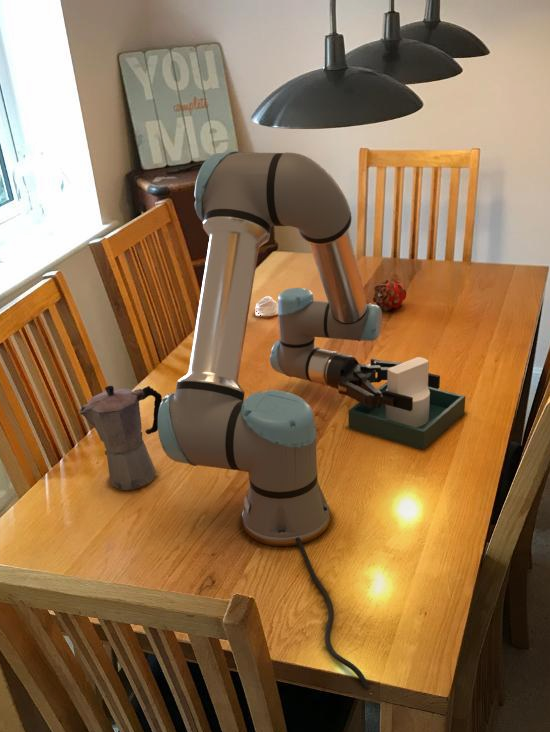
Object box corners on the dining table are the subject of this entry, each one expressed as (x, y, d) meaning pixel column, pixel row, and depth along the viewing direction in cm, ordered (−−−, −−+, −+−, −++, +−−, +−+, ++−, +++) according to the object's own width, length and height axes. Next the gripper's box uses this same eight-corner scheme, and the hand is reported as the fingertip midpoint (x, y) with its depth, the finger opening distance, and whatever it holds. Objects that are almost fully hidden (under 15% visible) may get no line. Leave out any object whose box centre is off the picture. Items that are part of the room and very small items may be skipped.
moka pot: (89, 478, 164) (68, 385, 152) (163, 456, 169) (148, 364, 158) (103, 501, 156) (82, 405, 145) (180, 477, 162) (165, 383, 150)
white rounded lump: (275, 322, 226) (275, 306, 222) (251, 320, 227) (250, 303, 223) (281, 309, 232) (281, 293, 228) (258, 307, 233) (258, 290, 229)
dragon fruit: (380, 322, 223) (392, 312, 233) (406, 305, 219) (417, 295, 229) (363, 294, 222) (375, 285, 232) (389, 277, 217) (400, 269, 227)
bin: (464, 413, 176) (465, 395, 174) (423, 450, 165) (424, 431, 163) (392, 394, 185) (392, 377, 183) (348, 427, 174) (348, 410, 172)
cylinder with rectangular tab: (405, 432, 170) (407, 379, 163) (376, 417, 176) (376, 364, 169) (437, 418, 174) (440, 365, 167) (408, 403, 180) (409, 351, 173)
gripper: (363, 365, 190) (451, 387, 178) (304, 407, 175) (396, 433, 163) (363, 334, 185) (453, 355, 174) (302, 374, 171) (396, 399, 159)
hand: (425, 393), depth 169 cm, fingers open, 10 cm apart
